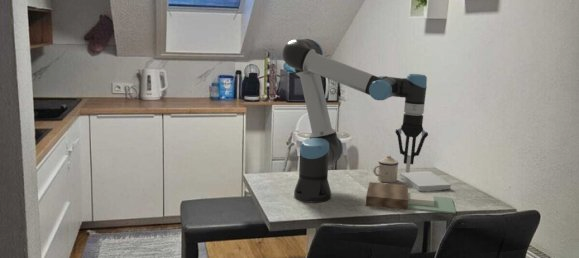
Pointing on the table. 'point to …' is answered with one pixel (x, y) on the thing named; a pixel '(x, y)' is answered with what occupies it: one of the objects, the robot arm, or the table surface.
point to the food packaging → (424, 181)
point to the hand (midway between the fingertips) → (407, 171)
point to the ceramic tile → (420, 199)
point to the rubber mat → (436, 206)
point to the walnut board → (387, 195)
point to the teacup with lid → (387, 170)
